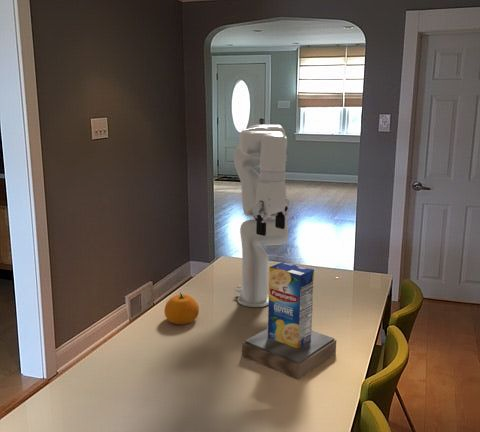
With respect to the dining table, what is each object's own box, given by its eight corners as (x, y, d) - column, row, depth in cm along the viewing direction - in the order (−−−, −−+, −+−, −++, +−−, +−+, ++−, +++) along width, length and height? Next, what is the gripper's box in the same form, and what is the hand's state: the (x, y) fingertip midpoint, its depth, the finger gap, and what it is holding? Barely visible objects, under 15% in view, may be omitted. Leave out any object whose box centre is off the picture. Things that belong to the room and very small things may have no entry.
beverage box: (298, 348, 146) (301, 275, 142) (267, 337, 153) (269, 267, 149) (311, 340, 152) (314, 269, 147) (280, 329, 158) (282, 261, 154)
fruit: (165, 329, 170) (165, 300, 168) (163, 314, 181) (163, 288, 179) (201, 326, 172) (200, 298, 170) (196, 312, 183) (196, 286, 181)
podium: (242, 356, 152) (242, 340, 151) (281, 334, 167) (281, 319, 166) (298, 379, 140) (299, 363, 138) (335, 353, 155) (336, 338, 153)
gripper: (278, 171, 161) (277, 223, 166) (244, 178, 149) (243, 235, 153) (298, 174, 157) (296, 228, 161) (265, 181, 144) (263, 240, 148)
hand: (270, 231), depth 157 cm, fingers open, 9 cm apart
